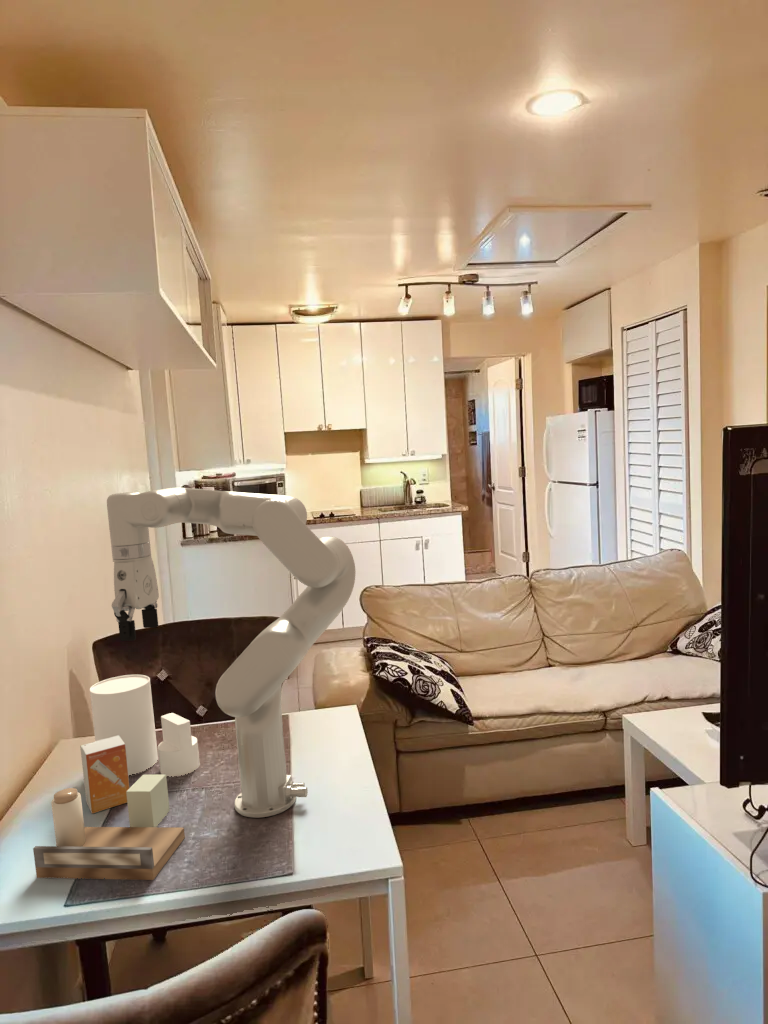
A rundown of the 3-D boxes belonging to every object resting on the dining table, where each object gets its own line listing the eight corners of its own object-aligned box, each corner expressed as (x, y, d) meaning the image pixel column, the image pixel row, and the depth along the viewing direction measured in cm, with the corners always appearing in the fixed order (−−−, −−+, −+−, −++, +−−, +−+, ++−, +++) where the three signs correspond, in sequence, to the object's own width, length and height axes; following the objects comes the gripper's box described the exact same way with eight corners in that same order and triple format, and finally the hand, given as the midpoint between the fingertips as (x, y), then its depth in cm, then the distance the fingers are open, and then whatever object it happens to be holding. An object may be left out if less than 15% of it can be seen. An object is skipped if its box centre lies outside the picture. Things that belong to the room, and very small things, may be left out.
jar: (91, 837, 130) (85, 786, 129) (76, 852, 125) (70, 800, 124) (66, 836, 131) (61, 786, 130) (50, 852, 126) (44, 800, 125)
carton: (169, 811, 142) (166, 774, 141) (154, 830, 135) (150, 791, 134) (146, 811, 143) (142, 774, 142) (129, 830, 136) (125, 791, 135)
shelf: (184, 837, 131) (182, 810, 131) (153, 880, 118) (149, 850, 118) (78, 836, 134) (75, 809, 134) (35, 878, 121) (32, 849, 121)
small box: (91, 815, 143) (84, 754, 141) (86, 803, 148) (79, 744, 147) (131, 801, 147) (125, 743, 146) (125, 790, 152) (118, 734, 151)
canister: (85, 774, 162) (76, 692, 160) (124, 750, 174) (116, 673, 173) (133, 779, 157) (124, 695, 156) (169, 754, 170) (161, 675, 168)
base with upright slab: (153, 769, 162) (148, 720, 161) (188, 755, 168) (183, 708, 167) (171, 780, 156) (166, 729, 155) (206, 766, 162) (202, 716, 161)
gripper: (127, 558, 132) (136, 645, 134) (167, 545, 149) (175, 622, 151) (91, 560, 133) (100, 646, 135) (135, 547, 150) (142, 623, 152)
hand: (140, 633), depth 143 cm, fingers open, 9 cm apart
